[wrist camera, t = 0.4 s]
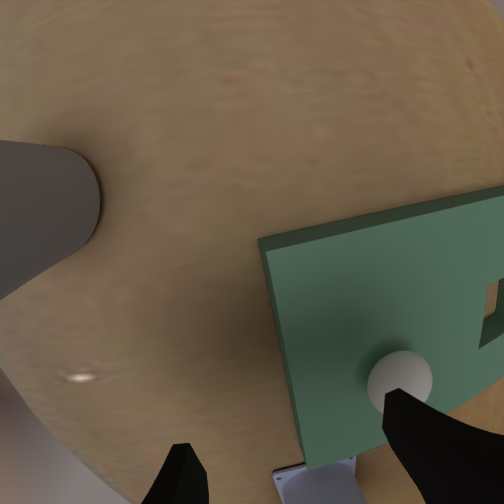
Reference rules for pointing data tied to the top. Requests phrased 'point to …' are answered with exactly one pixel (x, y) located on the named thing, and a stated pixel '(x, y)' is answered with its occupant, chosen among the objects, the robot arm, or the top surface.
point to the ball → (399, 377)
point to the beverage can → (42, 209)
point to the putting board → (385, 312)
